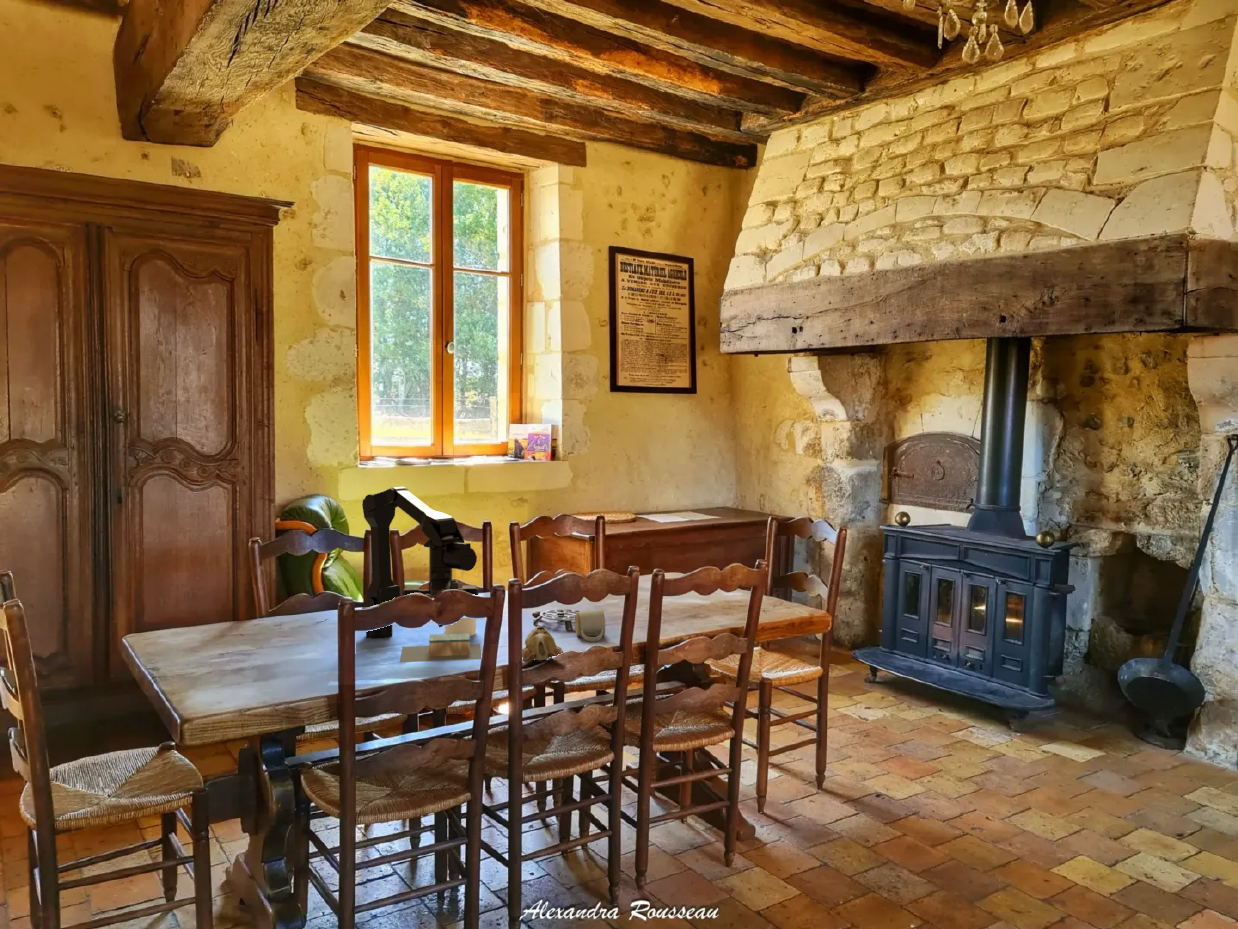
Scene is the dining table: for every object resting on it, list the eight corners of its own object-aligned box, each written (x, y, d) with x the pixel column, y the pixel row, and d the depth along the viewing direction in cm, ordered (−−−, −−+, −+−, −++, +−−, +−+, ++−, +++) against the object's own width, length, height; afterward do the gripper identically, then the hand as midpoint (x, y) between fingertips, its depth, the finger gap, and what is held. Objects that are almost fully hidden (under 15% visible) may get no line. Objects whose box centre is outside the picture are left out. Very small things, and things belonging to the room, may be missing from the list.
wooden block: (429, 640, 225) (469, 639, 227) (429, 634, 231) (469, 633, 233) (429, 656, 225) (469, 654, 227) (429, 649, 231) (469, 648, 233)
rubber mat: (399, 665, 220) (399, 662, 220) (402, 649, 234) (402, 646, 234) (481, 662, 224) (481, 658, 224) (480, 647, 237) (480, 644, 237)
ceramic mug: (573, 633, 253) (574, 607, 253) (600, 632, 255) (601, 606, 254) (580, 643, 243) (580, 616, 243) (608, 642, 245) (608, 615, 244)
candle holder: (482, 632, 253) (482, 590, 252) (473, 641, 243) (473, 597, 242) (448, 631, 254) (448, 589, 253) (437, 640, 244) (437, 596, 243)
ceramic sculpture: (559, 618, 234) (565, 636, 219) (558, 650, 235) (565, 670, 221) (518, 619, 232) (521, 638, 218) (518, 651, 233) (521, 672, 219)
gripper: (401, 572, 217) (401, 636, 218) (479, 571, 221) (478, 633, 222) (403, 564, 228) (403, 624, 229) (477, 563, 232) (477, 622, 233)
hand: (440, 626), depth 228 cm, fingers closed
